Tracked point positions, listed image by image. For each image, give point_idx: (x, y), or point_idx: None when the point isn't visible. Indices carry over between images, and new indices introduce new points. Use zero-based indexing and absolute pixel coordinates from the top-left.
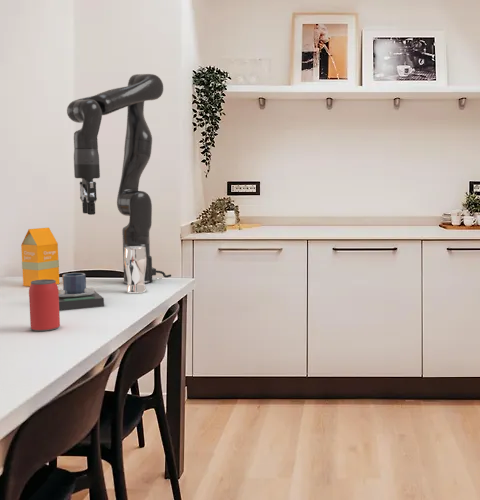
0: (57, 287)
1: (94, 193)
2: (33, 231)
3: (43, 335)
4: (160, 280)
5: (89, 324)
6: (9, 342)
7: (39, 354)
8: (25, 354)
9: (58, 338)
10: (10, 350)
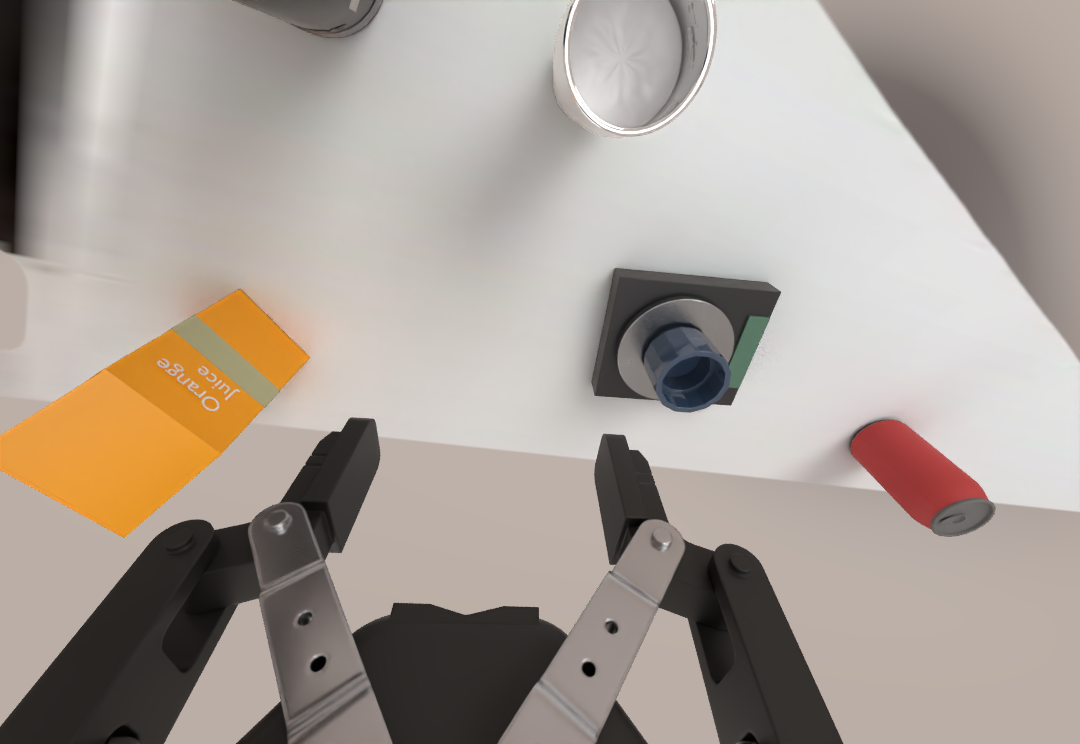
0: (977, 485)
1: (770, 650)
2: (118, 510)
3: None
4: None
5: (929, 368)
6: None
7: (1029, 471)
8: (1005, 483)
9: (970, 434)
10: None
